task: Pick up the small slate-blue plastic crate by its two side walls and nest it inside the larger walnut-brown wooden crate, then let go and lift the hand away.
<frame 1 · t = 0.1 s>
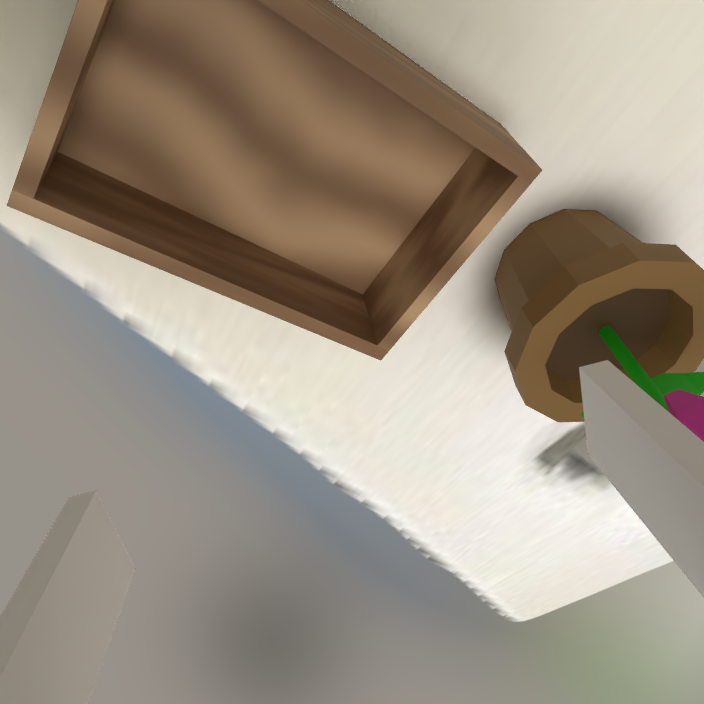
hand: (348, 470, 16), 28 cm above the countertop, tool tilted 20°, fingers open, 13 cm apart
walnut crate: (279, 137, 38), on the countertop
flowerpot: (556, 265, 48), on the countertop
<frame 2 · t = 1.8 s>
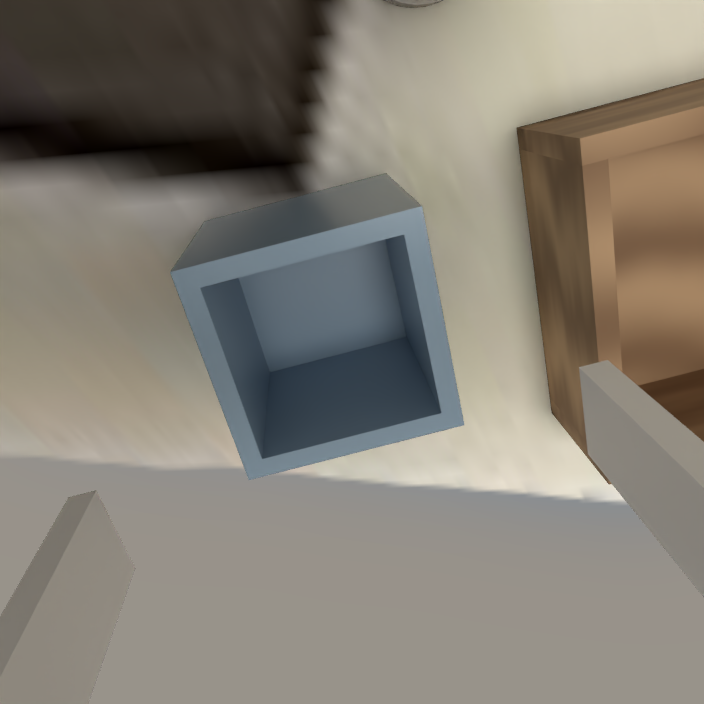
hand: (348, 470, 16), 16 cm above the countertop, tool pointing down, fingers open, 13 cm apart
slate crate: (319, 284, 31), on the countertop
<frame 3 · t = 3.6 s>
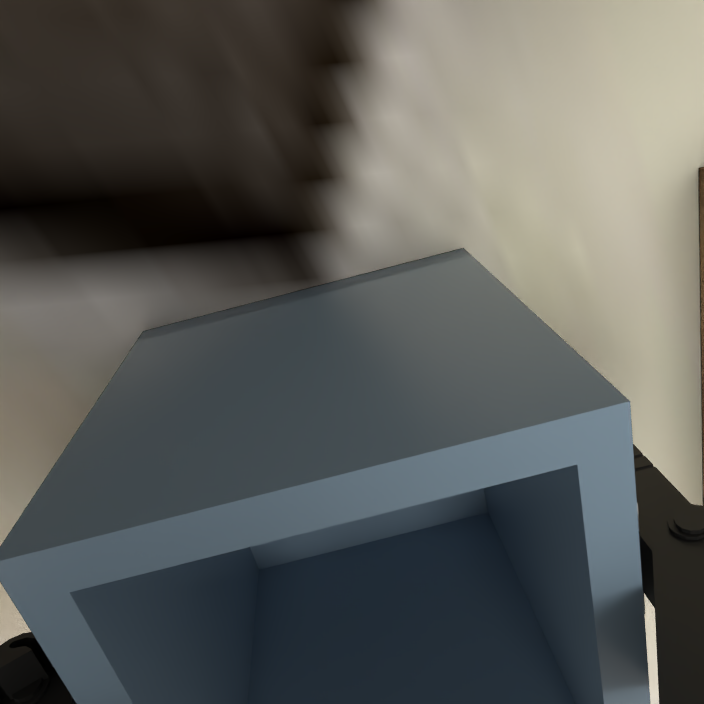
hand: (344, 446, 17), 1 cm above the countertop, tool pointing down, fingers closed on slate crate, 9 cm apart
slate crate: (342, 428, 18), on the countertop, touching gripper
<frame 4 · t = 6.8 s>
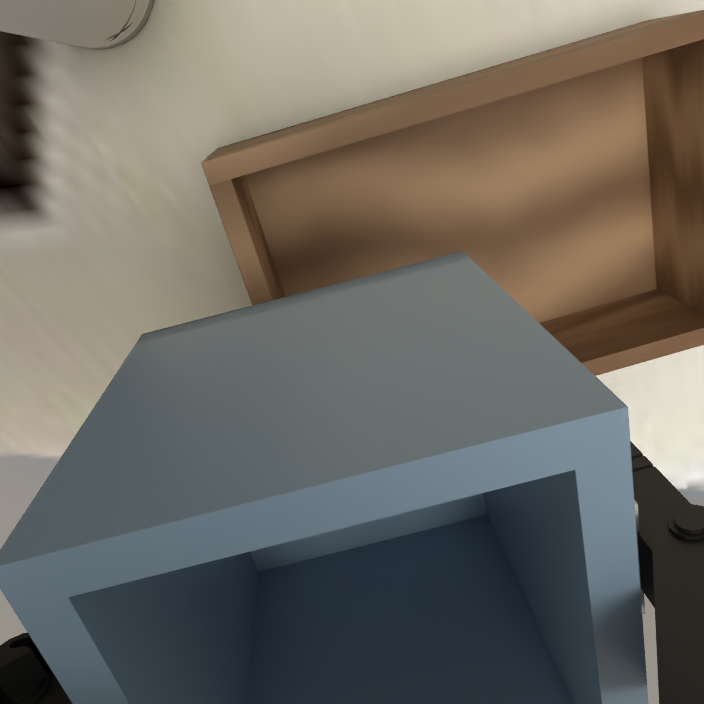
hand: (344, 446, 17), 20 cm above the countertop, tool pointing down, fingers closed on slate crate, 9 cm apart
walnut crate: (459, 227, 36), on the countertop
slate crate: (341, 431, 18), point 19 cm above the countertop, touching gripper
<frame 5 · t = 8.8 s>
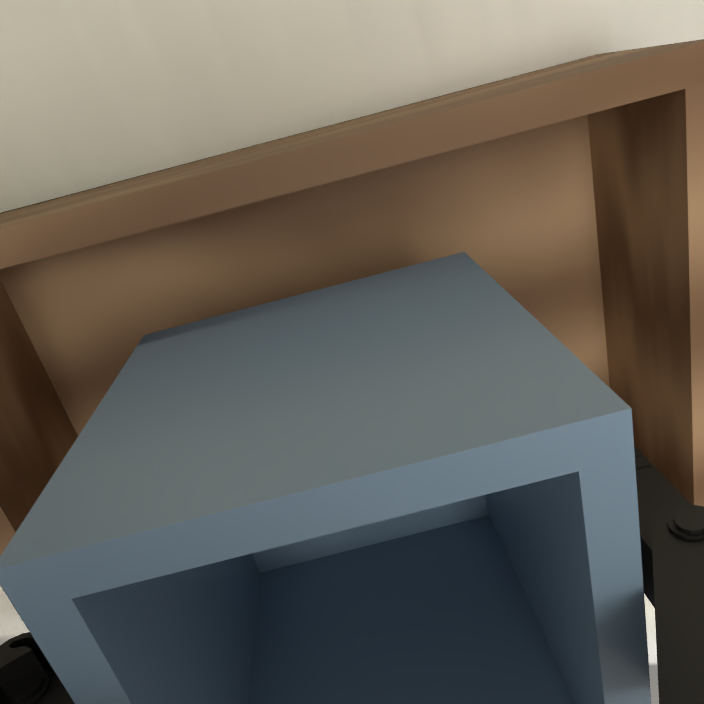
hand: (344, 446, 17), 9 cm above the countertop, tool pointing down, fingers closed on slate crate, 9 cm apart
walnut crate: (330, 337, 25), on the countertop
slate crate: (343, 432, 18), point 8 cm above the countertop, touching gripper
when the fingers open (3 cm above the countertop, at t = 10.4 s): slate crate drops 1 cm, resting on walnut crate.
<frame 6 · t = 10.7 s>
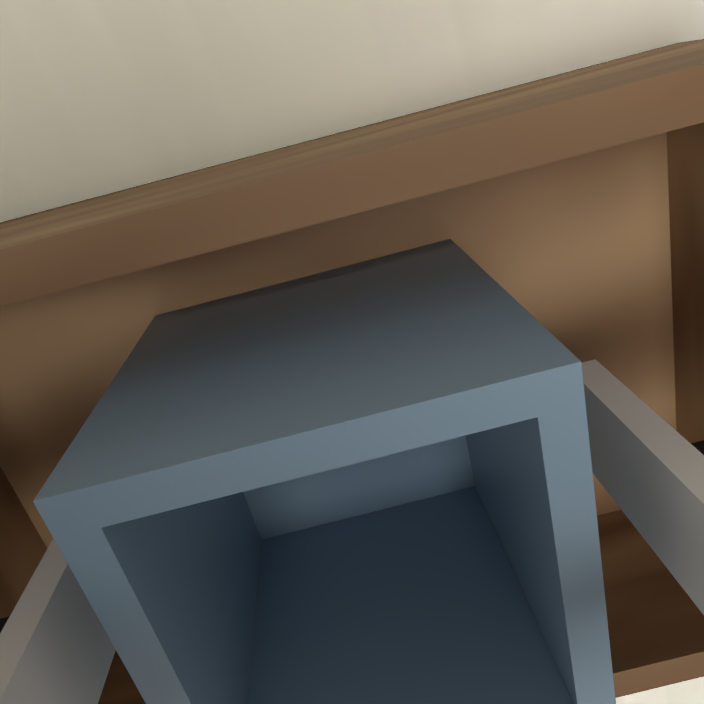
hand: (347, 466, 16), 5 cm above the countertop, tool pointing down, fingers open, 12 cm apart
walnut crate: (337, 392, 21), on the countertop
slate crate: (339, 407, 20), point 1 cm above the countertop, touching walnut crate
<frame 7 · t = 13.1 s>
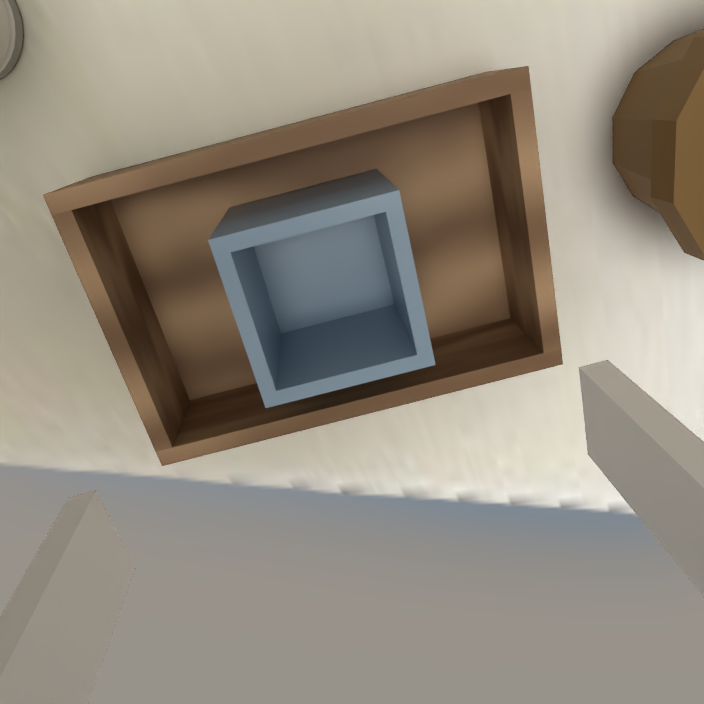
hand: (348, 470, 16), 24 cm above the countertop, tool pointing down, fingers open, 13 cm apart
walnut crate: (321, 255, 39), on the countertop
flowerpot: (689, 125, 38), on the countertop
slate crate: (322, 260, 38), point 1 cm above the countertop, touching walnut crate
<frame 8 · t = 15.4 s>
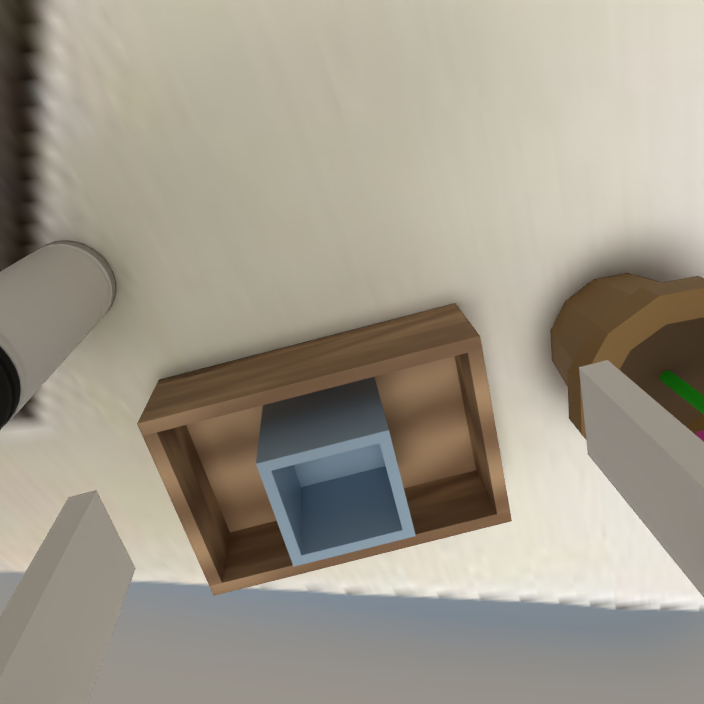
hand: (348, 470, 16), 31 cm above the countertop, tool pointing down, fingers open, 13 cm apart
walnut crate: (331, 427, 51), on the countertop
flowerpot: (609, 333, 50), on the countertop
slate crate: (332, 434, 50), point 1 cm above the countertop, touching walnut crate
travel mug: (75, 281, 45), on the countertop
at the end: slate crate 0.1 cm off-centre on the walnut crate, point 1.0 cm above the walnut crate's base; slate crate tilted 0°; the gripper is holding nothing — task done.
